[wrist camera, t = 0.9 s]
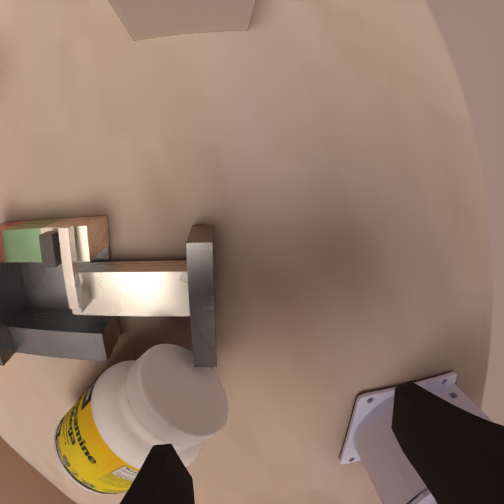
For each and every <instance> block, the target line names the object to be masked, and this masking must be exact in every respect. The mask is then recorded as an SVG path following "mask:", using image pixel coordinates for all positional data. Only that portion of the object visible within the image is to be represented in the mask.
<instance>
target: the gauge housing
mask: <svg viewBox="0 0 504 504" xmlns="http://www.w3.org/2000/svg"><path fill="white" fill-rule="evenodd" d="M68 225H74V236H75V246H76V255H77V263H79V262H111V255H110V244H109V232H108V218H107V216H91V217H73V218H56V219H41V220H28V221H15V222H3V223H0V365H2V366H4V365H5V363H6V362H7V361H8V360H9V359H10V358H11V357H12V356H13V354H14V353H15V352H18V353H26V354H33V355H41V356H50V357H59V358H69V359H80V360H93V361H108V360H109V358H110V355H111V353H112V351H113V349H114V347H115V345H116V343H117V341H118V339H119V337H120V335H121V329H120V323H119V317H118V316H104V315H75V314H73V313H72V309H70V308H69V302H68V297H67V292H66V286H65V280H64V273H63V266H62V264H60V265H59V266H57V267H43V265H42V258H41V251H40V243H39V235H40V234H43V233H45V232H47V231H58V228H60V227H62V226H68Z"/></svg>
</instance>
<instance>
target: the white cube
mask: <svg viewBox="0 0 504 504" xmlns="http://www.w3.org/2000/svg"><path fill="white" fill-rule="evenodd" d="M108 1H109V3H110V4H111V6H112V7H113V9H114V10H115V12H116V13H117V15H118V17H119V18H120V20H121V21H122V23H123V24H124V26H125V28H126V29H127V31H128V32H129V34H130V35H131V37H132V39H133V40H134V41H137V40H143V39H149V38H156V37H164V36H172V35H181V34H191V33H204V32H221V31H247V30H248V26H249V22H250V19H251V15H252V11H253V8H254V4H255V1H256V0H108Z"/></svg>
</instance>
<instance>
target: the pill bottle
mask: <svg viewBox="0 0 504 504" xmlns="http://www.w3.org/2000/svg"><path fill="white" fill-rule="evenodd" d="M227 416H228V401H227V397H226V394H225V391H224V388H223V386H222V384H221V382H220V380H219V379H218V377H217V376H216V374H215V373H214V371H213V370H212V369H211V368H210V367H194V359H193V352H191V351H190V350H188V349H186V348H183V347H181V346H178V345H174V344H159V345H155V346H153V347H151V348H150V349H148V350H147V351H146V352H145V353H144V354H143V355H141V356H140V357H139V358H138V359H137V360H129V361H123V362H120V363H117V364H115V365H113V366H111V367H110V368H108V369H107V370H106V371H105V372H103V373H102V374H101V375H100V376H99V377H98V378H97V379H96V381H95V382H94V383H93V384H92V385H91V386H90V388H89V389H88V390H87V391H86V392H85V393H84V394H83V395H82V396H81V398H80V399H79V400H78V401H77V402H76V403H75V405H74V406H73V407H72V408H71V409H70V410H69V412H68V413H67V414H66V415H65V416H64V417H63V418H62V420H61V421H60V423H59V425H58V426H57V429H56V432H55V436H54V449H55V454H56V457H57V460H58V462H59V464H60V466H61V468H62V469H63V471H64V472H65V473H66V474H67V476H68V477H69V478H70V479H71V480H72V481H74V482H75V483H76V484H77V485H79V486H80V487H82V488H84V489H86V490H88V491H91V492H94V493H97V494H103V495H111V494H117V493H121V492H124V491H127V490H128V489H129V488H130V486H131V484H132V483H133V481H134V479H135V477H136V476H137V474H138V472H139V470H140V468H141V467H142V465H143V463H144V461H145V459H146V457H147V455H148V454H149V452H150V450H151V448H152V447H153V445H161V444H172V445H173V447H174V449H175V451H176V452H177V454H178V456H179V457H180V459H181V461H182V462H183V464H184V466H185V467H186V466H188V465H189V464H190V463H192V462H193V461H194V460H195V458H196V457H197V456H198V454H199V453H200V451H201V449H202V446H203V443H204V441H205V440H207V439H209V438H210V437H212V436H213V435H215V434H217V433H218V432H219V431H220V430H221V429H222V428H223V426H224V425H225V423H226V420H227Z"/></svg>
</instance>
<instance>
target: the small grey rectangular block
mask: <svg viewBox="0 0 504 504" xmlns="http://www.w3.org/2000/svg"><path fill="white" fill-rule="evenodd" d="M39 243H40V251H41V258H42V265H43V267H57V266H59V265H60V264H62V259H61V251H60V243H59V233H58V231H47V232H45V233H43V234H40V235H39Z"/></svg>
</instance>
